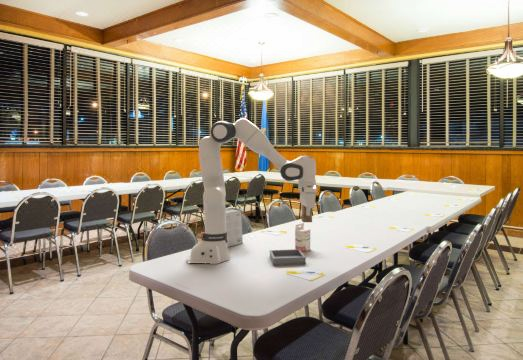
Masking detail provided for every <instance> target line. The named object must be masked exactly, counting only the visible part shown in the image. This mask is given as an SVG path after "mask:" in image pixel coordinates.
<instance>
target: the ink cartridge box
mask: <svg viewBox="0 0 523 360" xmlns="http://www.w3.org/2000/svg"><path fill="white" fill-rule="evenodd" d="M294 235H295V238H294V239H295V240H294V242H295V243H294V245H295V247H294V249H300V250H301V252H302V253H304V252H307V251H309V250H311V228H305V222H302V223H299V224H295V230H294Z"/></svg>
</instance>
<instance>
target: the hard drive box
mask: <svg viewBox="0 0 523 360" xmlns="http://www.w3.org/2000/svg"><path fill="white" fill-rule="evenodd" d="M226 231H227V234H228V241H227V246H228V248H229V247H232V246H236V245H240V244H243V241H244V240H243V216H242V210H238V209H237V210H236V209H231V210H226Z"/></svg>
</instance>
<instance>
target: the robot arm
mask: <svg viewBox="0 0 523 360" xmlns="http://www.w3.org/2000/svg"><path fill="white" fill-rule="evenodd" d="M233 139H236V140H238V141H240V142H241V143H242V144H243V145H244V146H246V147H247V148H248V149H249V150H251V151H252V152H254V153H256V154H258V155H261V156H263V157H264V158H266V159H268V160H269V162H270V163H272V164H273V165H274V166H275V167H276V168H277V169H278V171H279V173H280V176H281V177H282V179H283V180H285V181H287V182H293V181H297V182H298V183H297V184H298V185H297V186H298V187H297V189H298V192H300V193H299V203H300V204H301V205H304V206H305V207H306V215H307V216H309V215H310V210H311V208H312V209H314V208H315V207H316V195H317V194H316V193H318V188H317V182H316V175H317V174H316V173H317V165H316V160H315V158H314V157H312V156H308V155H304V154H303V155H300V156H299V157H296V158H295V159H293V160H288V159H287V158H285V157H284V156H283V155H281V153H280V152H278V151H277V149H276V148H274V146H273V145H272V143H271V142H270V140H269V138H268V136H266V134H265V133H264V132H263V131H262V130H261V129H260V128H259V127H258V126H257V125H256V124H255V123H253V122H251V121H250V120H248V119H246V118H243V117H242V118H240V119H237V120H236V121H235V122H233V123H232V122H228V121H226V120H225V121H224V120H221V121H220V120H219V121H217V122H214V123H213V125H211V127H210V135H209V136H203V137H202V138H201V139H200V140H199V142H198V160H199V167H200V175H201V179H202V184H203V189H204V191H203V193H202V202H203V213H204V214H203V216H204V231H201V233H200V237H201V238H200V239H201V240H199V241H198V242H197V243H196V244H194V246H193V247H192V248H191V250H190V255H188V256H187V257H186V263H187V262H190V263H205V265H206V263H210V264H209V265H215V264H216V265H217V264H221V263H223V262H227V261H229V260H231V256H230V252H229V247H228V246H227V241H228V234H227V231H226V211H227V210H226V196H227V195H226V194H227V192H226V184H225V178H224V177H225V176H224V171H223V170H224V169H223V164H222V163H223V162H222V155H221V146H223V145H224V144H227V143H230V142H231V141H232V140H233ZM190 263H189V264H190Z"/></svg>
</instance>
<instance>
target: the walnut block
mask: <svg viewBox="0 0 523 360" xmlns="http://www.w3.org/2000/svg"><path fill="white" fill-rule="evenodd" d="M301 222H302V223H313V208H311V210H310V215H309V216H307V215H306V207H305V206H304V205H303V204H301Z"/></svg>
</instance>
